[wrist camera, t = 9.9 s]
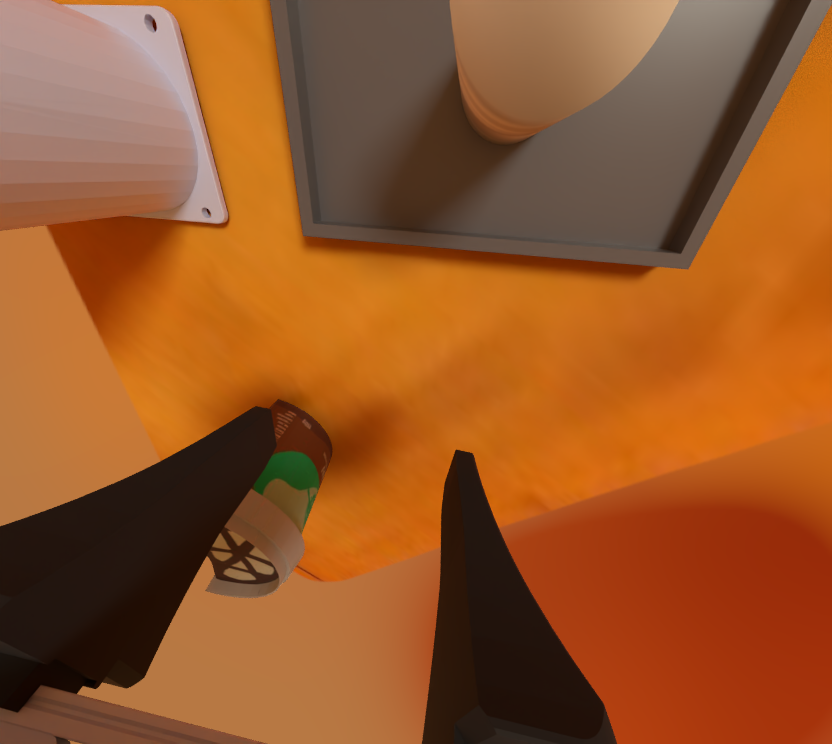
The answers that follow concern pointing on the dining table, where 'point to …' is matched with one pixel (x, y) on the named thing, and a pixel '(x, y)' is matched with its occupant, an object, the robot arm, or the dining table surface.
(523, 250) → the tray
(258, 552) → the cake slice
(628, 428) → the dining table surface
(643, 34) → the dowel pin
